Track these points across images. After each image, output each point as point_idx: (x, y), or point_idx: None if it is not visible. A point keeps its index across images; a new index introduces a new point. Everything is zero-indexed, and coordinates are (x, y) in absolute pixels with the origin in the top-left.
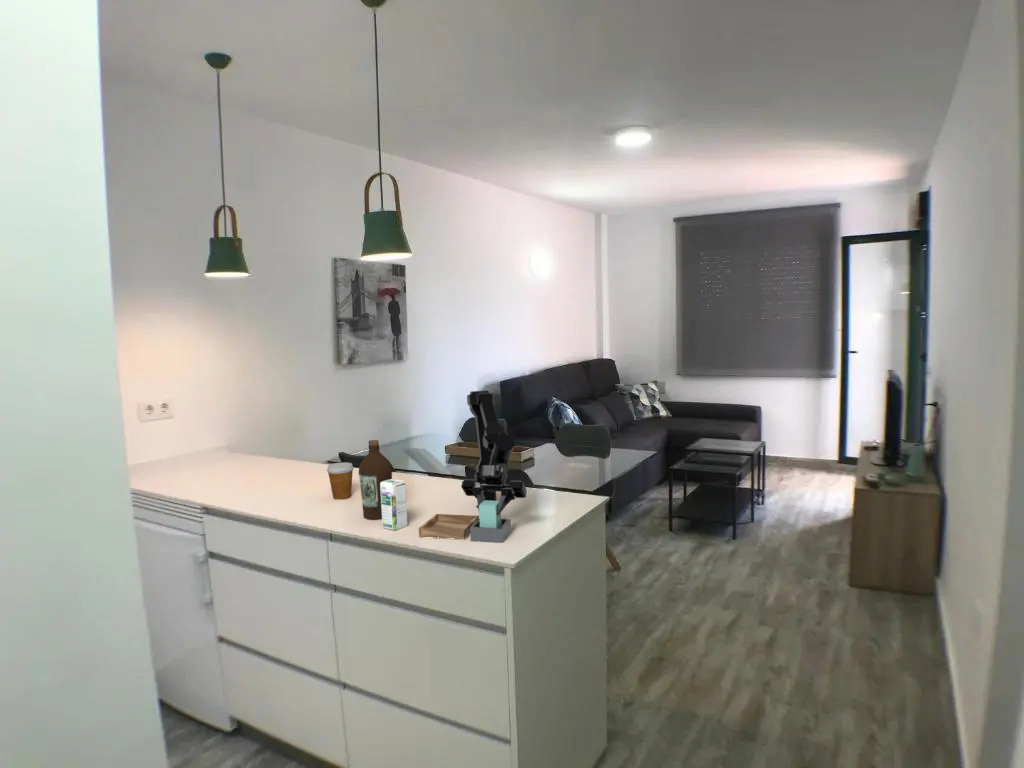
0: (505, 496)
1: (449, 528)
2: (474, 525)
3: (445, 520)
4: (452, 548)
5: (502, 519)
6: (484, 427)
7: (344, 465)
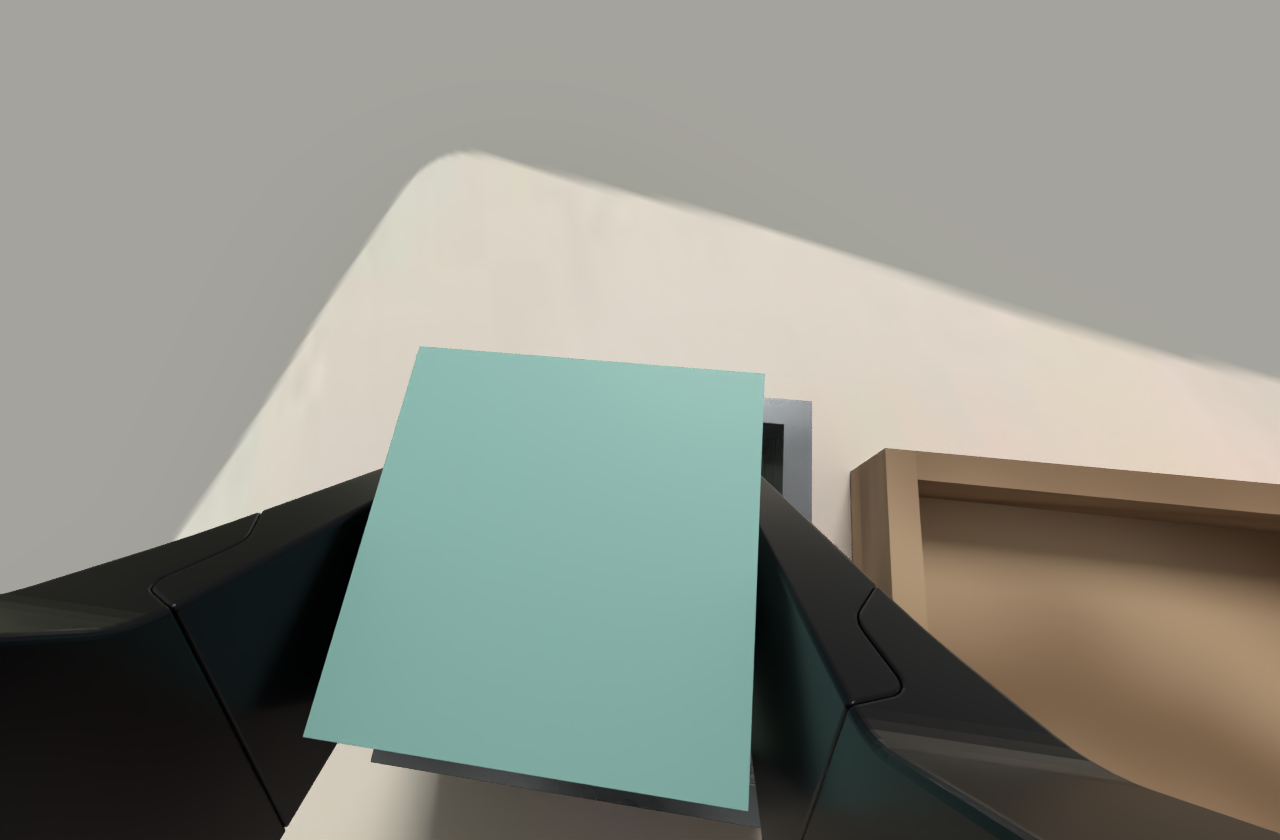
0: (16, 595)
1: (1150, 748)
2: (784, 468)
3: None
4: (867, 289)
5: None
6: None
7: None
